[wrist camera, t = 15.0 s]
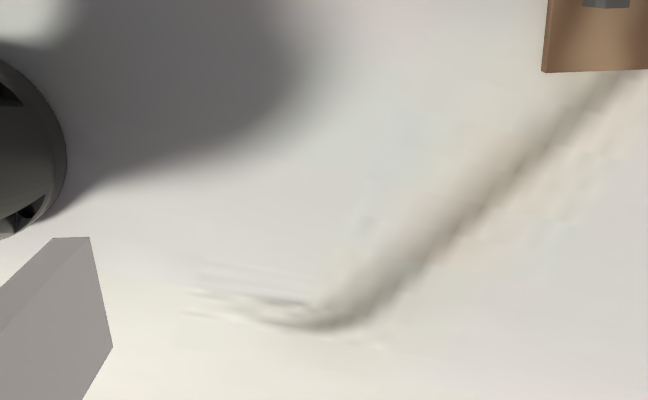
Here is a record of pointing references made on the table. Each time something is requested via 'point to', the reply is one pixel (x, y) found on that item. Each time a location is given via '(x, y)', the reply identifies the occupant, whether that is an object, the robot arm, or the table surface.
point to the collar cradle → (595, 35)
